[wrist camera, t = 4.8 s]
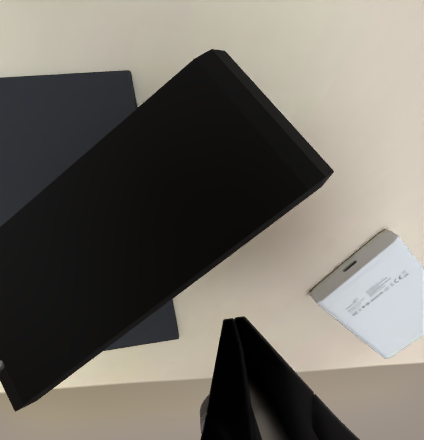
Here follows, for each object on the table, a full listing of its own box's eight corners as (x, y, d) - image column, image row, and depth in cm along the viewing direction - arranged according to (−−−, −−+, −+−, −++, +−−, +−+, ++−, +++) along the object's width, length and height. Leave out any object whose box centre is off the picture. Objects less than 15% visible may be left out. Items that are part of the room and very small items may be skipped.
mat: (178, 335, 20) (178, 339, 20) (24, 359, 19) (21, 364, 19) (130, 71, 12) (129, 70, 12) (-141, 87, 11) (-152, 86, 11)
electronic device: (283, 214, 14) (351, 164, 5) (161, 306, 15) (-3, 429, 5) (242, 165, 15) (224, 27, 5) (128, 255, 16) (-71, 283, 6)
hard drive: (374, 346, 25) (307, 292, 20) (441, 298, 23) (384, 227, 18) (386, 361, 23) (317, 305, 19) (459, 310, 21) (402, 236, 17)
